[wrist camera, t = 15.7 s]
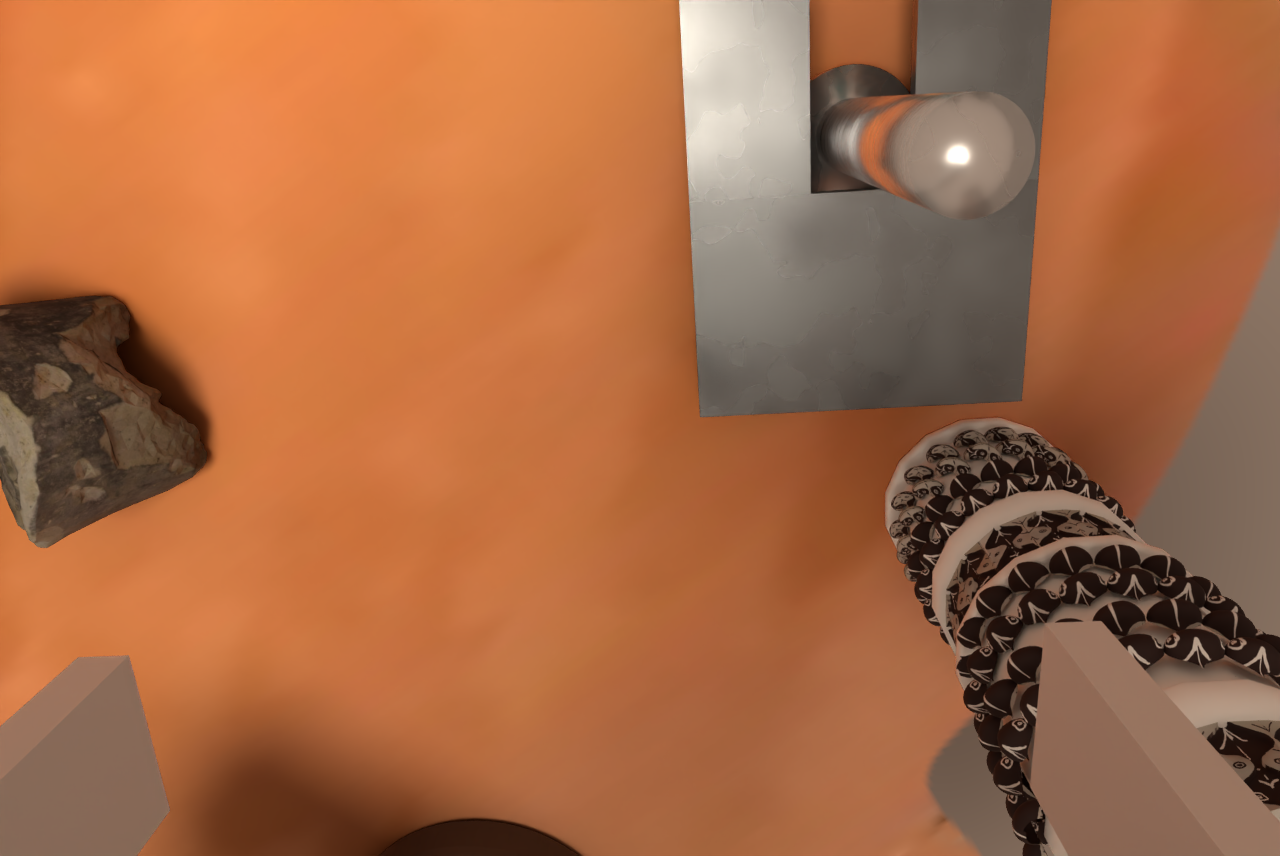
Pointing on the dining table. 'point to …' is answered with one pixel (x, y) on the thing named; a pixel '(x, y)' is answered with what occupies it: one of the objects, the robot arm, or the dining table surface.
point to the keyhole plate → (848, 224)
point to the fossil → (81, 419)
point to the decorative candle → (1067, 603)
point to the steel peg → (917, 142)
